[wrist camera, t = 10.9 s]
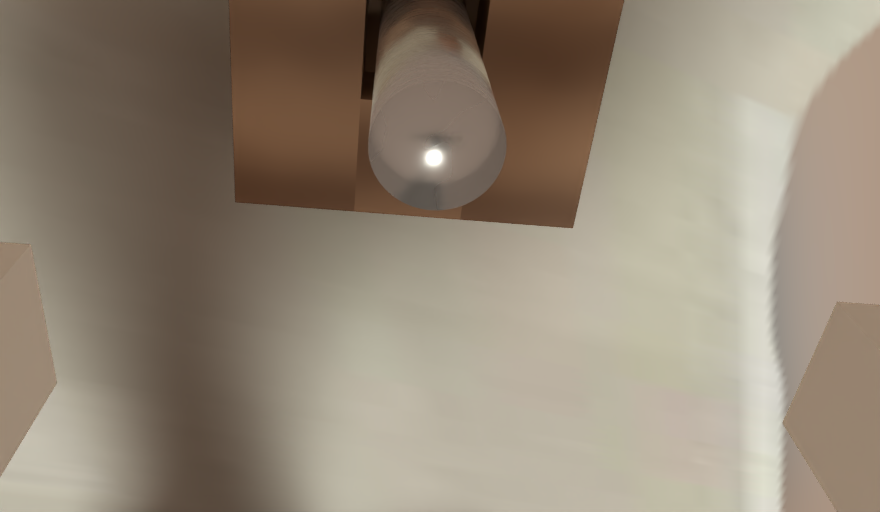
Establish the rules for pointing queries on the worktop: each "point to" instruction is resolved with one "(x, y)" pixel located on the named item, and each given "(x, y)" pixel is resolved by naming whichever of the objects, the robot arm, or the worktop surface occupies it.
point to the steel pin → (433, 107)
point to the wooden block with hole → (351, 91)
